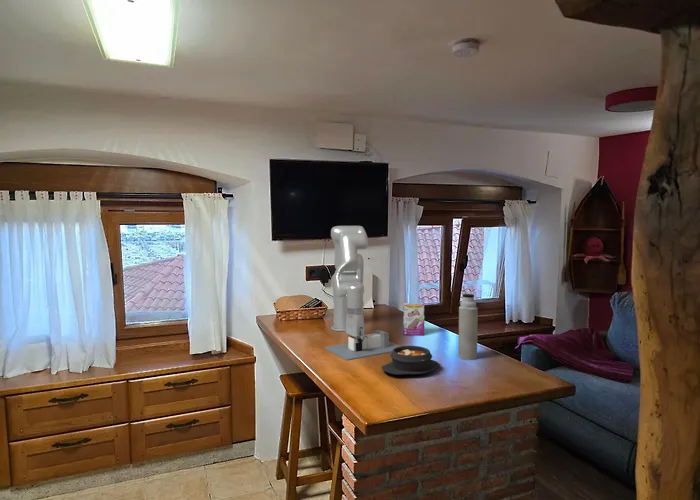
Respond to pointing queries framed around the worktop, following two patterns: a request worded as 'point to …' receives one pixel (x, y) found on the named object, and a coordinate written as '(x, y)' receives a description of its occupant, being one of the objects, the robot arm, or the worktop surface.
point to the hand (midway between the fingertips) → (355, 348)
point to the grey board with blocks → (375, 346)
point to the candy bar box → (413, 318)
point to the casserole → (410, 361)
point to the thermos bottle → (468, 328)
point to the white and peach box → (353, 342)
